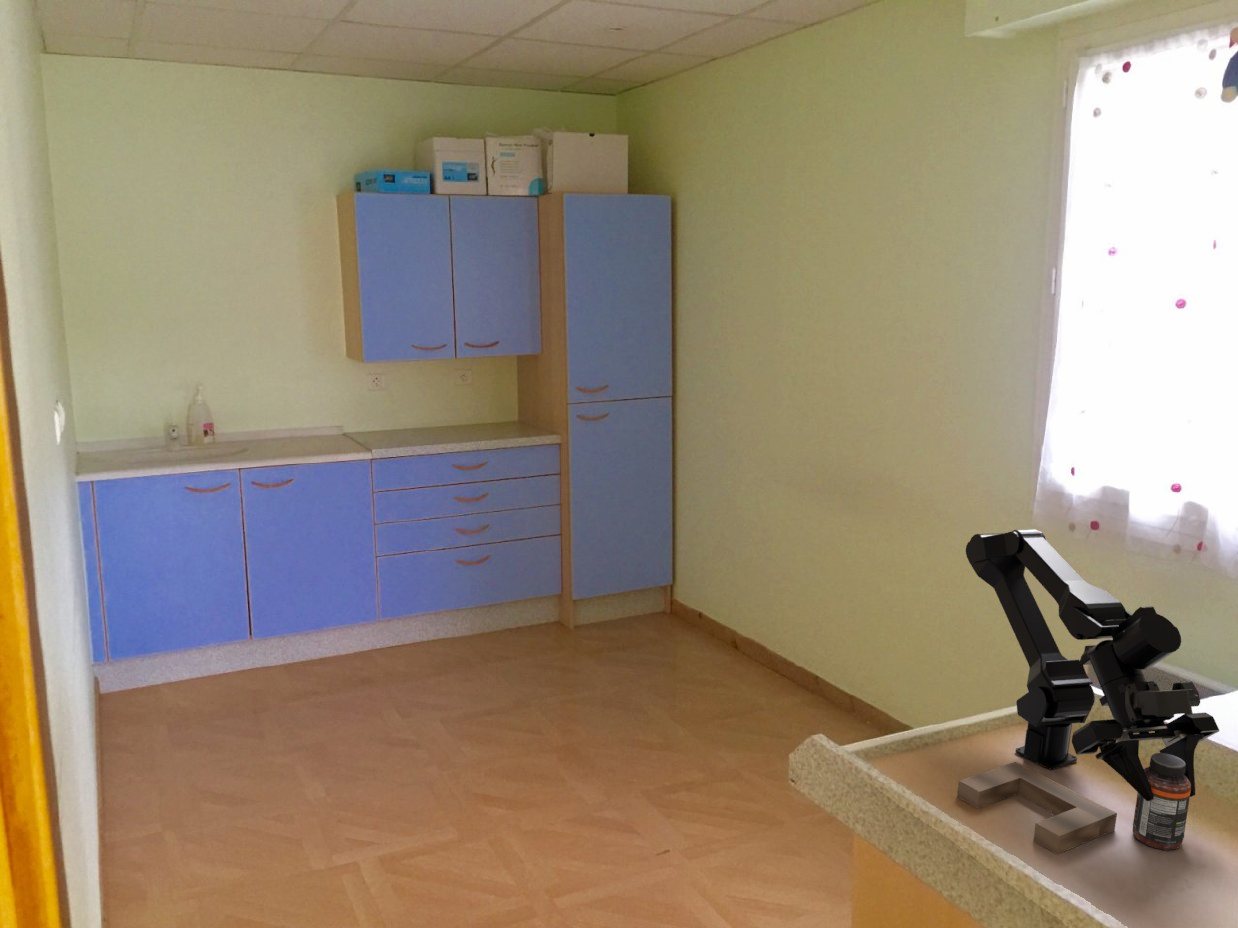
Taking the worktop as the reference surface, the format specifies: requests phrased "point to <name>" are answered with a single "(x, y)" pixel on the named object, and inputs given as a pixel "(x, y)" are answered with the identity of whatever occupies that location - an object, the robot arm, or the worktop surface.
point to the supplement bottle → (1163, 804)
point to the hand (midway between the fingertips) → (1171, 798)
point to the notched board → (1042, 805)
